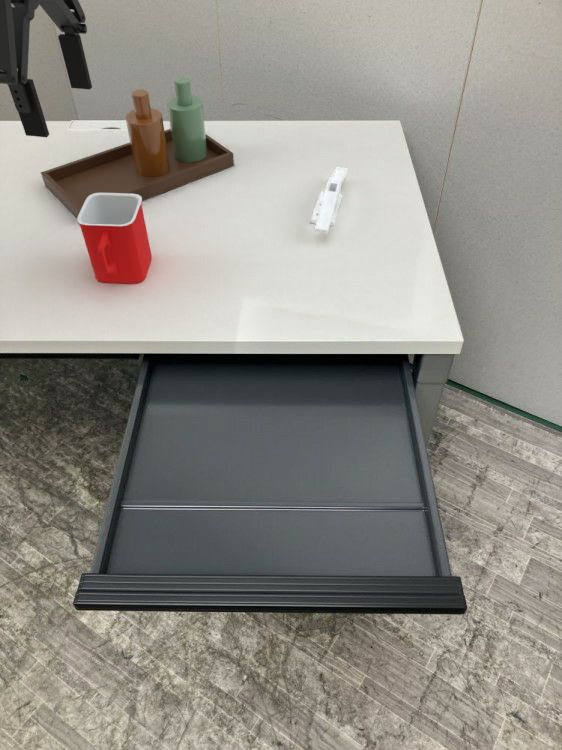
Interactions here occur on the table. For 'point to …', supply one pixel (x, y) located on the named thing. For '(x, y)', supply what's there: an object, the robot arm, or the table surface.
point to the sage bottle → (187, 123)
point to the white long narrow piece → (329, 202)
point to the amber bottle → (147, 137)
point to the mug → (116, 237)
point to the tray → (129, 174)
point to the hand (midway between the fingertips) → (61, 110)
